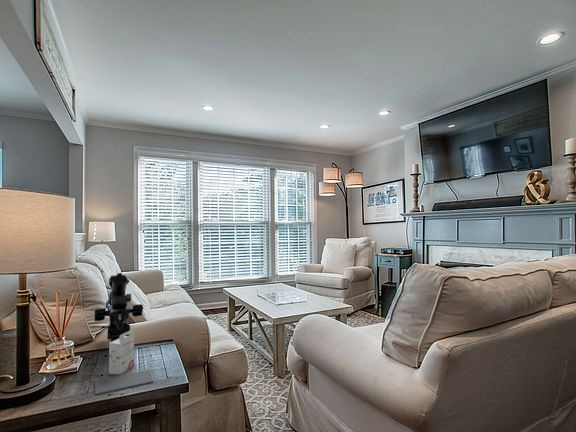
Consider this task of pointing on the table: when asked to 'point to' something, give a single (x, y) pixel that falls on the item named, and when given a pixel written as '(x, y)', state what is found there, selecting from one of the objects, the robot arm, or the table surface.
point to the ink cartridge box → (121, 353)
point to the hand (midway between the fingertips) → (119, 329)
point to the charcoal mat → (122, 382)
